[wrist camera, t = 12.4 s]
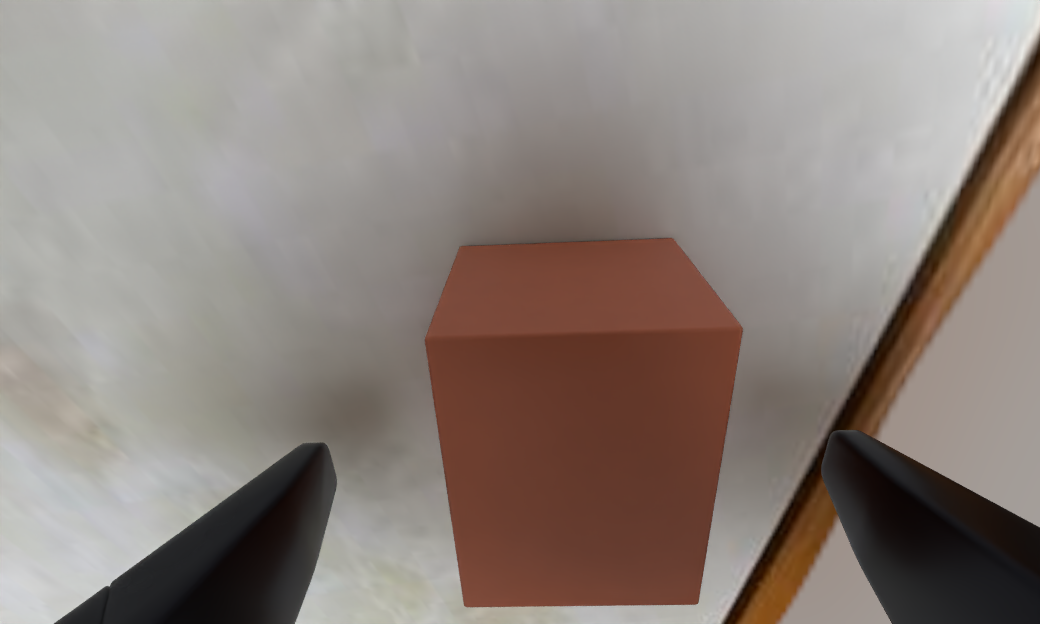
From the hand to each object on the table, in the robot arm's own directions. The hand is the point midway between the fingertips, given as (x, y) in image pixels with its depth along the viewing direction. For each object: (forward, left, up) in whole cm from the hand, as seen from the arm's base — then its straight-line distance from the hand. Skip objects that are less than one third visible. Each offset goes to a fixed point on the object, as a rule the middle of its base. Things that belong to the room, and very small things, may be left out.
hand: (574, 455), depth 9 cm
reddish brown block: (0, 0, -3) cm, 3 cm away
